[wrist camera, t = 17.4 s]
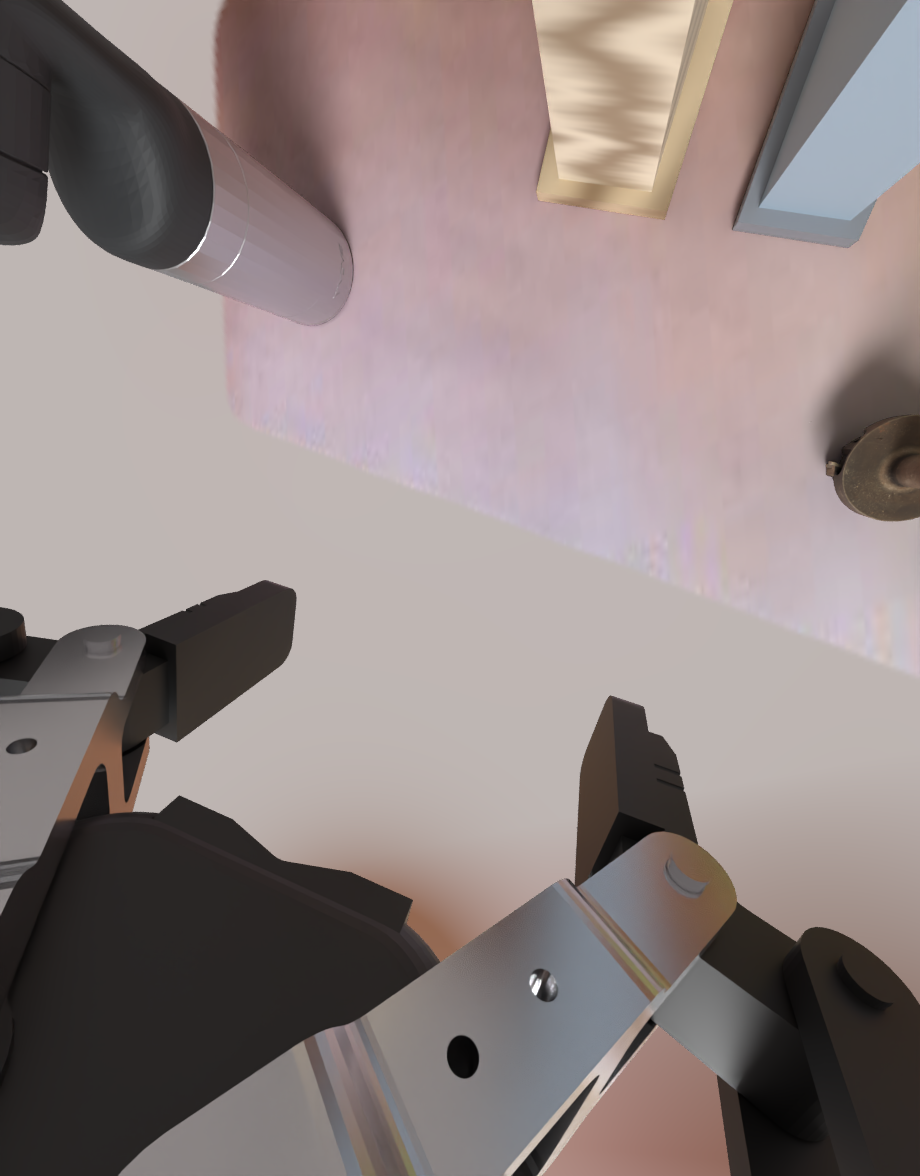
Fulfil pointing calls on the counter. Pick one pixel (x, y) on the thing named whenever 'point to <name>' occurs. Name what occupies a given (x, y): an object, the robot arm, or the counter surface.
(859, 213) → the post
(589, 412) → the counter surface
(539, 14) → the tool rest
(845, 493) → the industrial component
